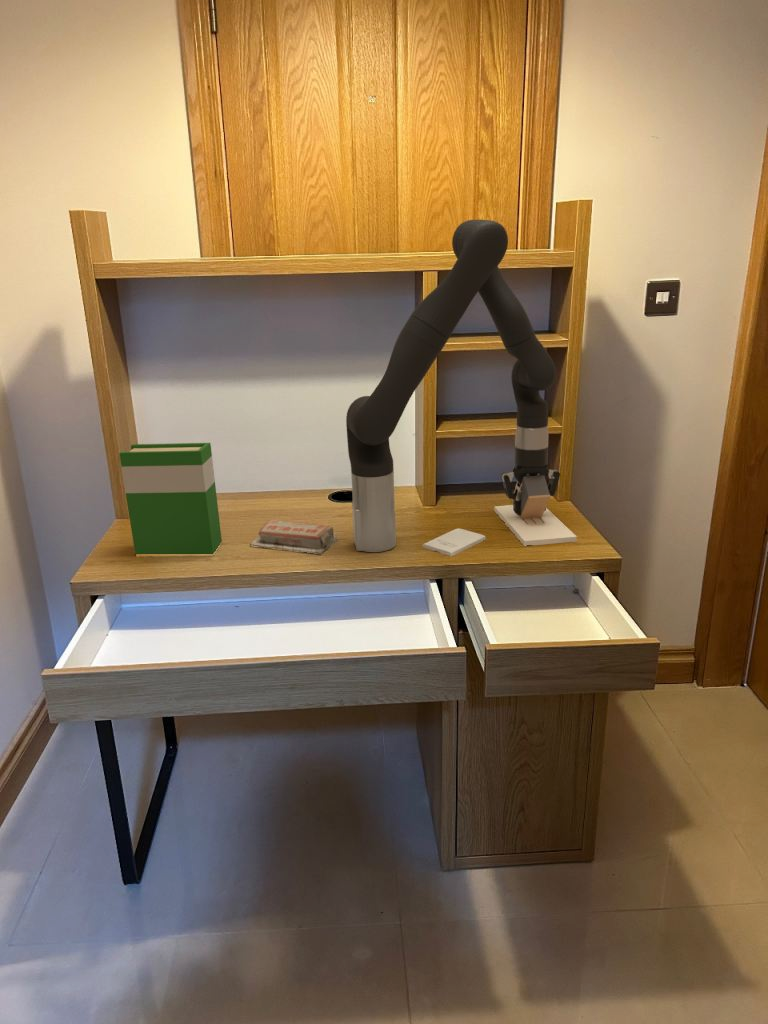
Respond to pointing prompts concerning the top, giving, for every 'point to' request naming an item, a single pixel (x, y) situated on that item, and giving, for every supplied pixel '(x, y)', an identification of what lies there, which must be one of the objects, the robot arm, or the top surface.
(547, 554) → the top surface
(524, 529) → the board
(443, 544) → the external hard drive
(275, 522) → the packaged product
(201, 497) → the hardback book
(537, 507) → the block
